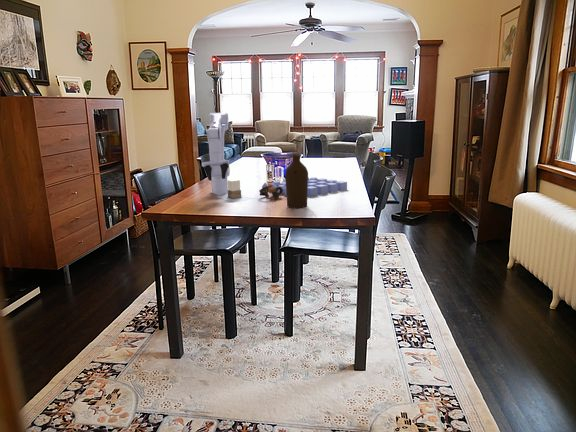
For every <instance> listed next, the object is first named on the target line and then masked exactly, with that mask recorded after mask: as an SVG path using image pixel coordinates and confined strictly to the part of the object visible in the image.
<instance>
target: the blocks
mask: <svg viewBox="0 0 576 432" xmlns="http://www.w3.org/2000/svg"><path fill="white" fill-rule="evenodd" d="M270 185H272V186H273V187H274V188H276V187H281V188H282V189H283V192H282V194H281V195H284V196H285V197H287V193H286V180H285V179H283V180H282V182H280V181H279V180H274V181H272V183H271V184H270ZM266 186H269V185H268V183H266V182H264V183H263V185H262V186H261V189H262V188H264V187H266ZM338 191H339V192H342V191H343V192H344V191H348V182H347V181H344V180H343V181H342V180H340V181H337V180H335V179H327V178H318V177H316V176H315V177H314V176H313V177H309V176H308V190H307V197H310V198H311V197H317V196H318V195H321V196H323V195H328V193H332V194H333V193H337V192H338ZM277 192H278V193H279V192H280V190H278V191H277ZM281 195H280V196H281Z"/></svg>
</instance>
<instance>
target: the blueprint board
mask: <svg viewBox="0 0 576 432" xmlns="http://www.w3.org/2000/svg"><path fill="white" fill-rule="evenodd" d="M216 198H219V199H222V200H226V201H229V202H231V203H237V202H242V201H248V200H254V197H249V196H246V195H242V194H241V198H235V199H231V198H228V194H222V195H218V196H216Z"/></svg>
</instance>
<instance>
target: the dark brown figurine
mask: <svg viewBox="0 0 576 432" xmlns="http://www.w3.org/2000/svg"><path fill="white" fill-rule="evenodd" d="M278 190H280V192H279V193H278V192H277V191H278ZM282 192H283V189H282V188H281V187H276V188H274V187H273V186H272V185H271V184H270V185H268V186H266V187H264V188H262V187H261V189H259V196H260V197H261V196H262V197H266V198H268V197H269V200H270V201H275V200H279V199H280V196H281V194H282ZM269 193H271V194H272V195H271V196H270V195H269ZM282 195H283V194H282Z"/></svg>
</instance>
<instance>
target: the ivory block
mask: <svg viewBox="0 0 576 432" xmlns="http://www.w3.org/2000/svg"><path fill="white" fill-rule="evenodd" d="M227 182H228V190H230V191H237V190H241V181H240V179H227Z"/></svg>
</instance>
